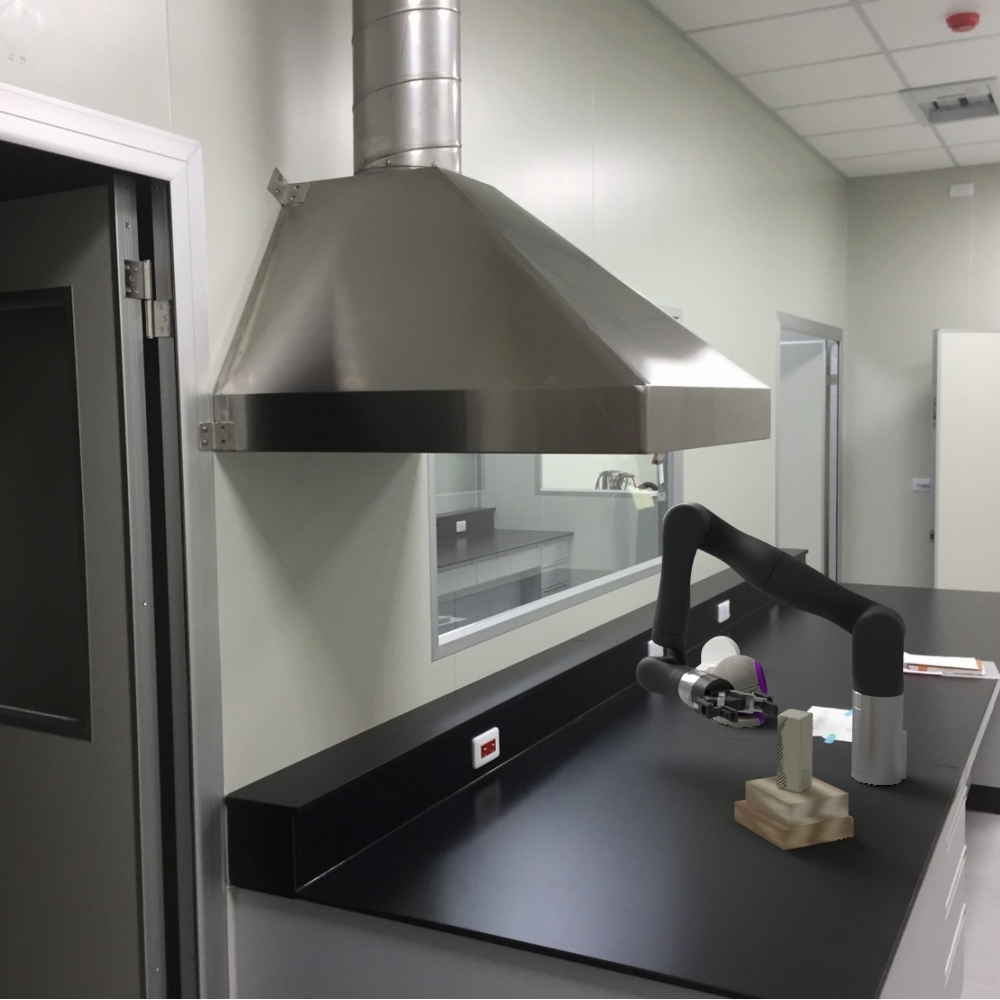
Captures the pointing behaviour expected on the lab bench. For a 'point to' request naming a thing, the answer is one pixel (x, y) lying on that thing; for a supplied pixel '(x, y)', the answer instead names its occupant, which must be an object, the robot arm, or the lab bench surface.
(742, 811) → the bottom slab
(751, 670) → the shader ball
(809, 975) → the lab bench surface
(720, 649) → the tape dispenser
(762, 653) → the lab bench surface
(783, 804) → the top slab
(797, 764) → the box
